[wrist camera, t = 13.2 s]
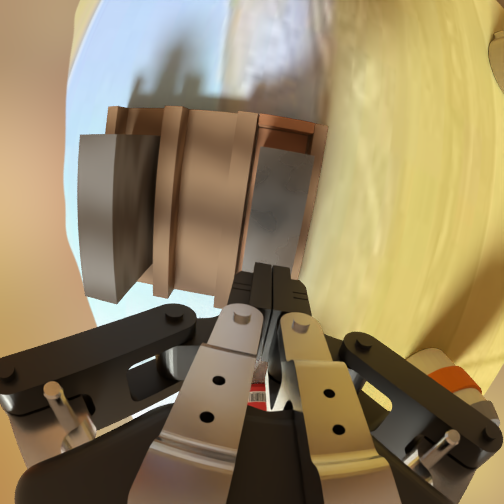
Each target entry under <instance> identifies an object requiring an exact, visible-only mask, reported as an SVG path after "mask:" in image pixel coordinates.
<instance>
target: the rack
mask: <svg viewBox="0 0 504 504" xmlns="http://www.w3.org/2000/svg"><path fill="white" fill-rule="evenodd" d="M327 132H328V126H325V125H321V124H315V123H312V122H307V121H302V120H297V119H292V118H286V117H280V116H274V115H268V114H261V113H260V116H259V115H258V113H252V112H244V111H238V113H229V112H219V111H207V110H193V109H188V108H185V107H183V106H165V108H125V107H120V106H111V107H108V115H107V123H106V132H105V134H91V135H80V142H79V157H78V186H77V202H78V231H79V246H80V258H81V268H82V276H83V284H84V291H85V296H88V297H91V298H95V299H99V300H103V301H106V302H110V303H114V304H118V302H119V301H120V300H121V299H122V298H123V297H124V295H125V294H126V293H127V292H128V291H129V290H130V288H131V287H132V286H133V285H134V284H135V283H136V282H137V281H138V282H143V283H147V284H152V285H153V296H157V297H162V298H167V299H168V298H169V296H170V294H171V293H172V291H173V290H174V289H178V290H183V291H189V292H194V293H200V294H205V295H211V296H215V297H214V307H215V308H220V309H223V308H224V307H225V306H227V302H228V299H229V295H230V291H231V288H232V284H233V280H234V276H235V275H236V274H237V273H239V272H240V271H242V265H243V258H244V251H245V244H246V238H247V231H248V224H249V218H250V211H251V204H252V198H253V191H254V185H255V178H256V172H257V165H258V159H259V152H260V146H262V147H268V148H274V149H280V150H286V151H292V152H297V153H302V154H308V155H313V156H315V158H314V163H313V169H312V174H311V180H310V185H309V191H308V196H307V201H306V206H305V211H304V216H303V221H302V226H301V231H300V236H299V240H298V245H297V250H296V255H295V259H294V264H293V268H292V273H291V279H294V280H298V276H299V272H300V267H301V263H302V259H303V254H304V250H305V245H306V241H307V236H308V232H309V227H310V222H311V218H312V213H313V208H314V203H315V198H316V193H317V188H318V182H319V177H320V172H321V166H322V161H323V155H324V149H325V144H326V138H327Z"/></svg>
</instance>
